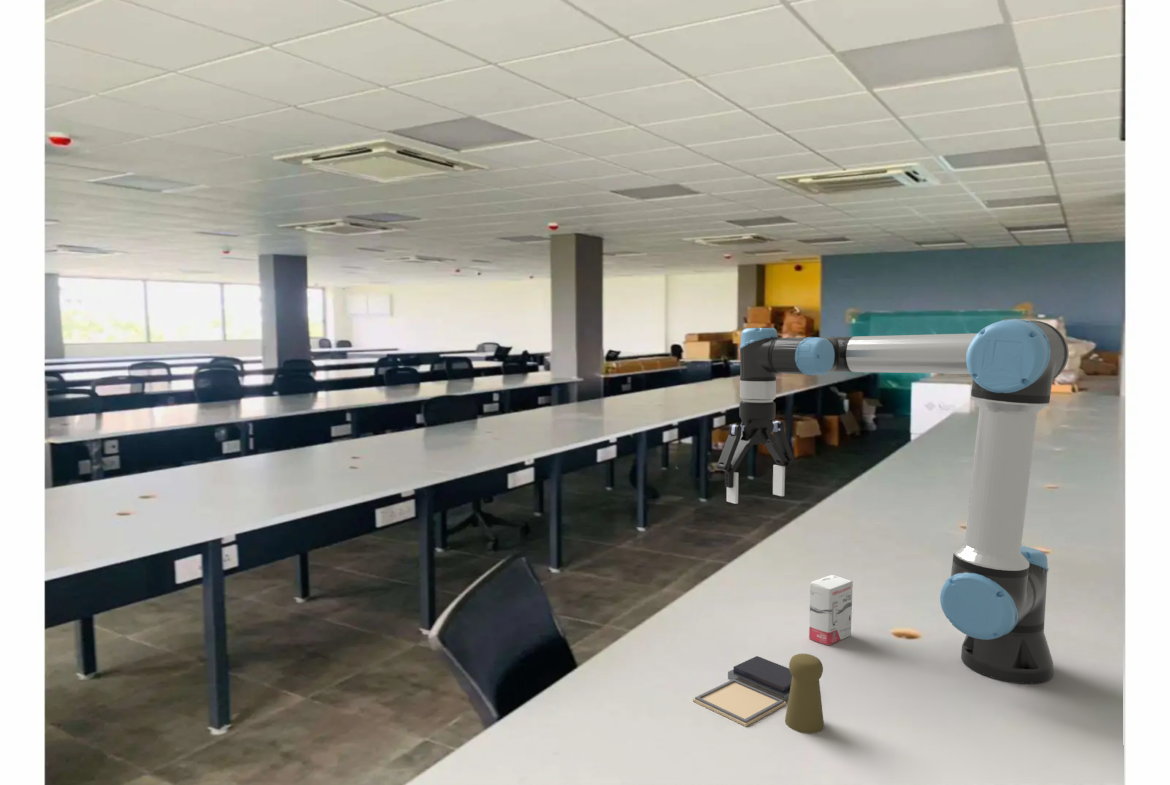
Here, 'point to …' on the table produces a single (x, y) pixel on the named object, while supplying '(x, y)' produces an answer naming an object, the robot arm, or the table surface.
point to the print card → (739, 702)
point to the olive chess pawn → (805, 695)
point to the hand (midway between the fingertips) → (755, 498)
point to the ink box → (830, 609)
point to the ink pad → (764, 676)
